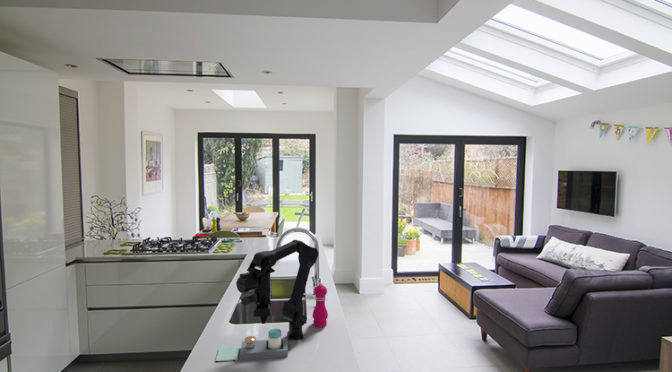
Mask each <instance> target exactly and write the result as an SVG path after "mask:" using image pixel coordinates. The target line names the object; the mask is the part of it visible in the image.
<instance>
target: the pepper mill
mask: <svg viewBox="0 0 672 372" xmlns="http://www.w3.org/2000/svg"><path fill="white" fill-rule="evenodd" d="M327 293H328V289H327V287H326V286H325V285H324V284H323V282H318V285H316V286H315V287H314V290H313V294H314V295H315V296H314V299H315V306H314V308H313V311H312V318H313V321H312V322H313V323H312V324H313V326H314V327H316V328H324V327H326V326H327V325H328V323H327V321H328V320H327V319H328V317H329V313H328V310H327V307H326V303H325V302H326V298H327Z"/></svg>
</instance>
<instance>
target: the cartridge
mask: <svg viewBox="0 0 672 372" xmlns="http://www.w3.org/2000/svg"><path fill="white" fill-rule="evenodd" d="M267 332H268V339H267V340H268V347H267V350H274V349H282V346H281V339H282V330H281V329H279V328H273V329H270V330H268V331H267Z"/></svg>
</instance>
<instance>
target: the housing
mask: <svg viewBox="0 0 672 372" xmlns="http://www.w3.org/2000/svg"><path fill="white" fill-rule="evenodd" d="M281 347H282V348H281V349H274V350H268V349H267V348H268V339H260V340H256V342H255V343H254V349H247V344H246V343H245V340H244V341H241V347H240V351H239V360H240V361H247V360H258V359H259V360H260V359H270V358H282V357H284V358H285V357H288V356H289V348H288V347H289V345H288V337H287V338H281Z"/></svg>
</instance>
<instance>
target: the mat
mask: <svg viewBox="0 0 672 372" xmlns="http://www.w3.org/2000/svg"><path fill="white" fill-rule="evenodd" d="M240 349H241V347H240V346H230V347H219V348H218V351H217V354H216V357H215V360H214V361H215V363H217V362H216V361H223V362H232V361H233V360H235V361H238V360H239V359H238V358H239V355H240ZM233 362H234V361H233Z"/></svg>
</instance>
